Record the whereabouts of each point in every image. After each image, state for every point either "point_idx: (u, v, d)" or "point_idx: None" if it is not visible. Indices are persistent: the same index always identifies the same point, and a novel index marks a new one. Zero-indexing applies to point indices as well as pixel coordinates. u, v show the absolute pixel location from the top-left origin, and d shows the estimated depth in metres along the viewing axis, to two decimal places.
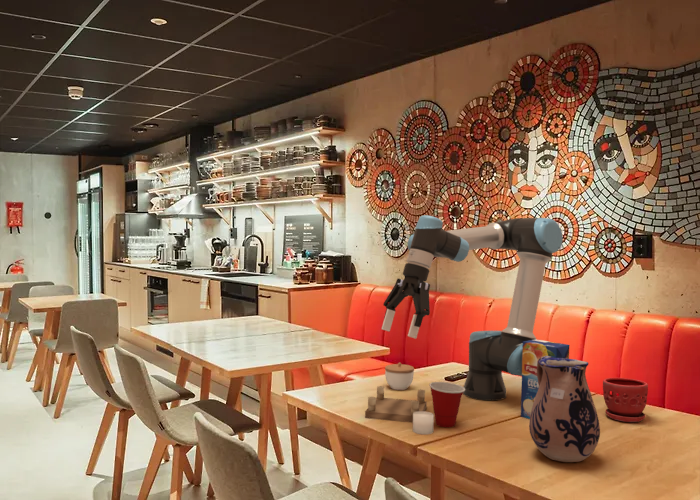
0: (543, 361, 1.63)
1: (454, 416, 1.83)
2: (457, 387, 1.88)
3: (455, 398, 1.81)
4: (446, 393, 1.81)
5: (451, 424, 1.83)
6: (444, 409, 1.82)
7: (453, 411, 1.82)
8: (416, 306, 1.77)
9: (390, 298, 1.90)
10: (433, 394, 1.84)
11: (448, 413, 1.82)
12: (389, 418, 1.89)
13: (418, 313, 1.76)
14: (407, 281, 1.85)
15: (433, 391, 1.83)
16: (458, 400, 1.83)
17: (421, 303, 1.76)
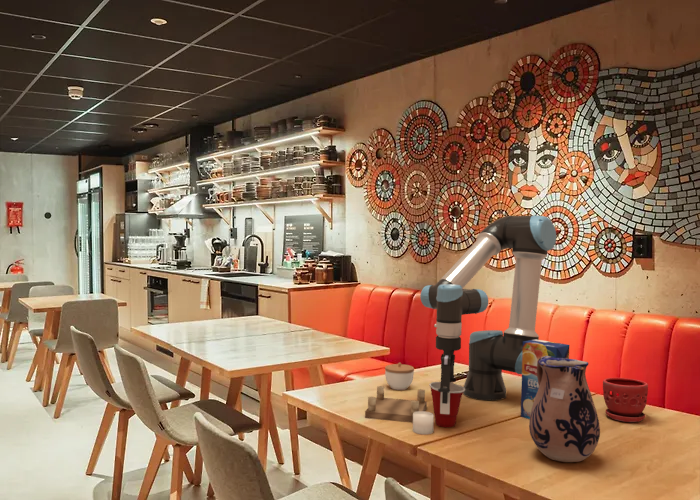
0: (543, 361, 1.63)
1: (454, 416, 1.83)
2: (457, 387, 1.88)
3: (455, 398, 1.81)
4: None
5: (451, 424, 1.83)
6: None
7: (453, 411, 1.82)
8: None
9: None
10: (433, 394, 1.84)
11: None
12: (389, 418, 1.89)
13: (440, 391, 1.79)
14: None
15: (433, 391, 1.83)
16: (458, 400, 1.83)
17: None
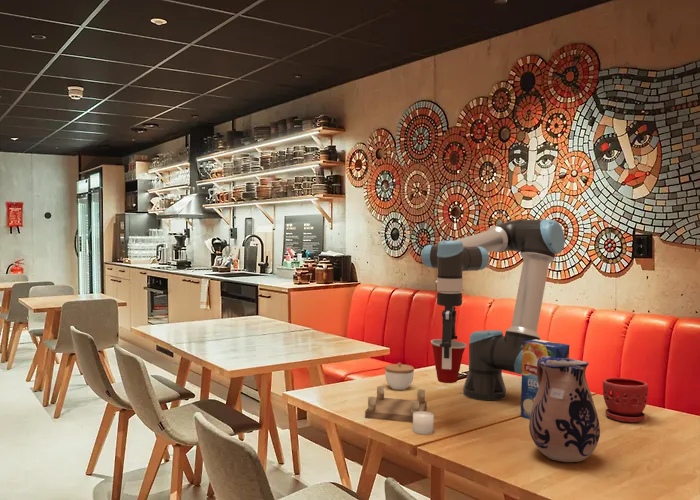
0: (543, 361, 1.63)
1: (456, 372, 1.83)
2: (459, 344, 1.88)
3: (457, 353, 1.81)
4: None
5: (453, 380, 1.83)
6: None
7: (455, 367, 1.82)
8: None
9: None
10: (435, 350, 1.83)
11: None
12: (389, 418, 1.89)
13: (442, 346, 1.78)
14: None
15: (435, 347, 1.83)
16: (460, 356, 1.82)
17: (442, 335, 1.78)
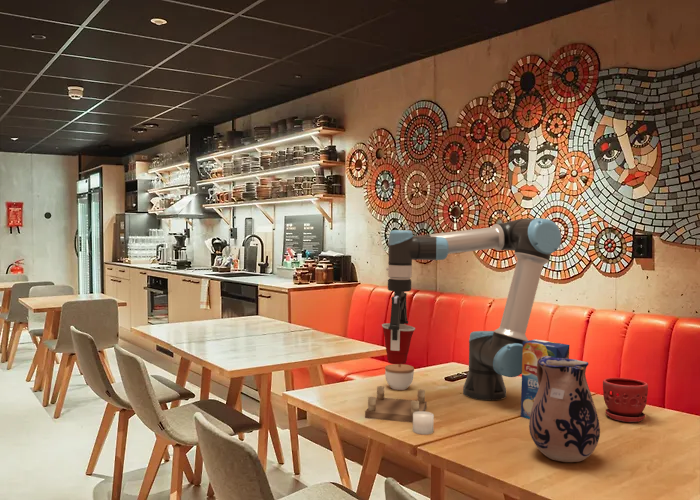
0: (543, 361, 1.63)
1: (404, 353, 1.94)
2: (408, 328, 1.99)
3: (405, 336, 1.92)
4: None
5: (401, 361, 1.94)
6: None
7: (403, 349, 1.93)
8: None
9: None
10: (385, 333, 1.95)
11: None
12: (389, 418, 1.89)
13: (390, 328, 1.89)
14: None
15: (385, 330, 1.94)
16: (408, 338, 1.93)
17: (390, 318, 1.89)
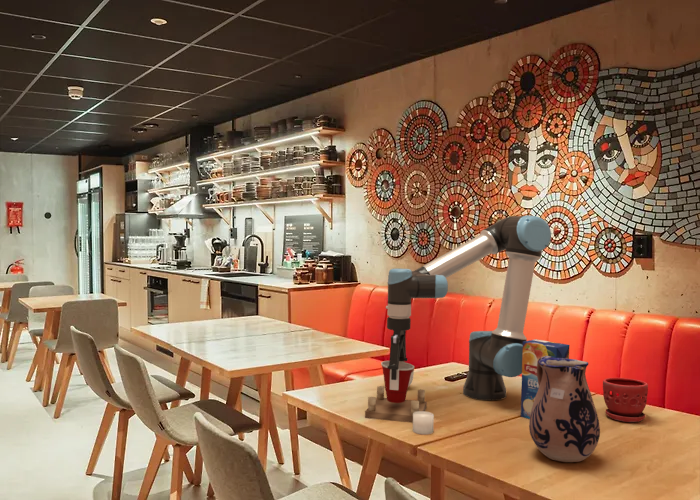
0: (543, 361, 1.63)
1: (403, 392, 1.94)
2: (408, 365, 2.00)
3: (404, 375, 1.93)
4: None
5: (400, 400, 1.94)
6: None
7: (402, 387, 1.94)
8: None
9: None
10: (384, 371, 1.95)
11: None
12: (389, 418, 1.89)
13: (389, 368, 1.90)
14: None
15: (384, 369, 1.95)
16: (407, 377, 1.94)
17: (390, 358, 1.89)
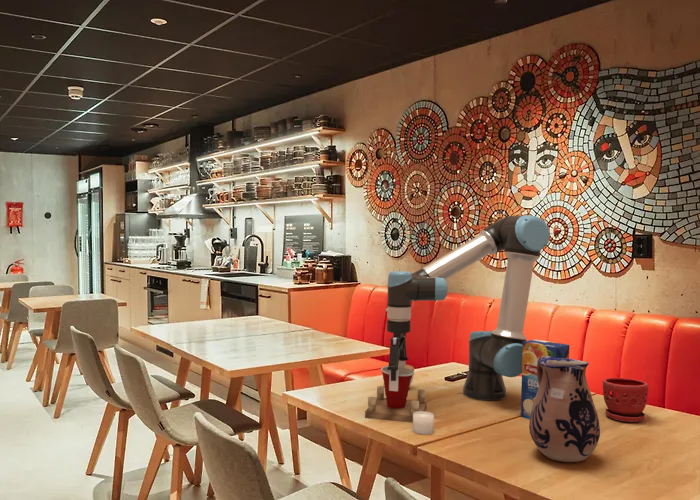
0: (543, 361, 1.63)
1: (403, 398, 1.94)
2: (408, 371, 2.00)
3: (404, 381, 1.93)
4: None
5: (401, 405, 1.94)
6: (393, 391, 1.93)
7: (402, 393, 1.94)
8: None
9: None
10: (384, 377, 1.95)
11: (397, 395, 1.93)
12: (389, 418, 1.89)
13: (389, 369, 1.89)
14: None
15: (384, 374, 1.95)
16: (407, 383, 1.94)
17: None
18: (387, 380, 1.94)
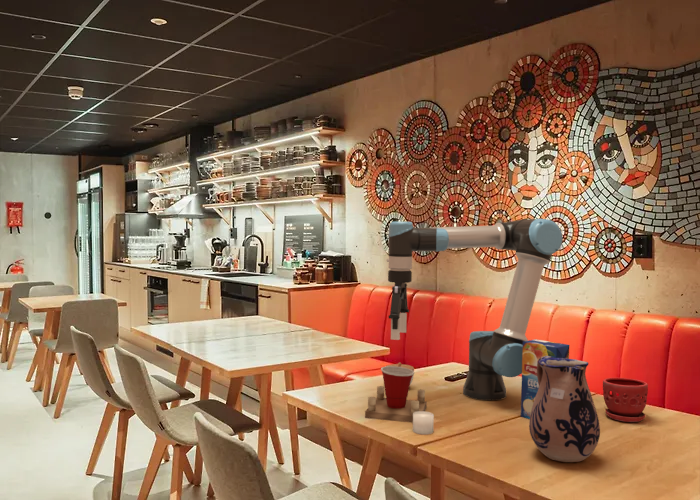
0: (543, 361, 1.63)
1: (403, 398, 1.94)
2: (408, 371, 2.00)
3: (404, 381, 1.93)
4: (395, 376, 1.92)
5: (401, 405, 1.94)
6: (393, 391, 1.93)
7: (402, 393, 1.94)
8: None
9: None
10: (384, 377, 1.95)
11: (397, 395, 1.93)
12: (389, 418, 1.89)
13: (390, 317, 1.89)
14: None
15: (384, 374, 1.95)
16: (407, 383, 1.94)
17: (391, 307, 1.89)
18: (387, 380, 1.94)
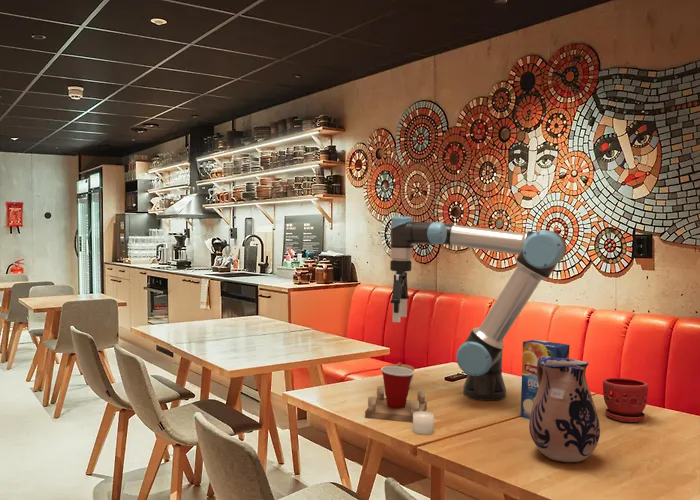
0: (543, 361, 1.63)
1: (403, 398, 1.94)
2: (408, 371, 2.00)
3: (404, 381, 1.93)
4: (395, 376, 1.92)
5: (401, 405, 1.94)
6: (393, 391, 1.93)
7: (402, 393, 1.94)
8: None
9: None
10: (384, 377, 1.95)
11: (397, 395, 1.93)
12: (389, 418, 1.89)
13: (392, 302, 2.11)
14: None
15: (384, 374, 1.95)
16: (407, 383, 1.94)
17: (392, 293, 2.11)
18: (387, 380, 1.94)
